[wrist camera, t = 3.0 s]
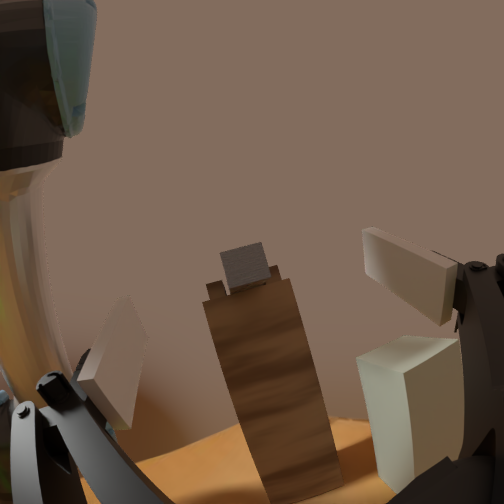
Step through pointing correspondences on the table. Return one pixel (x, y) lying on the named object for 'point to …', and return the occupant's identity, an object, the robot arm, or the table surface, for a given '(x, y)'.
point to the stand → (274, 388)
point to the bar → (245, 267)
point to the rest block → (413, 405)
